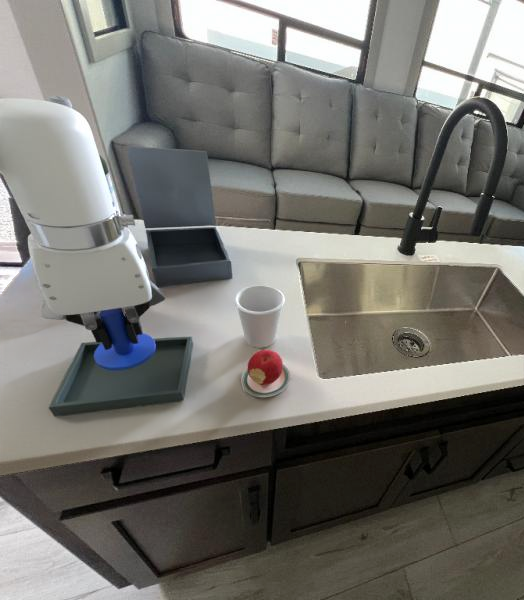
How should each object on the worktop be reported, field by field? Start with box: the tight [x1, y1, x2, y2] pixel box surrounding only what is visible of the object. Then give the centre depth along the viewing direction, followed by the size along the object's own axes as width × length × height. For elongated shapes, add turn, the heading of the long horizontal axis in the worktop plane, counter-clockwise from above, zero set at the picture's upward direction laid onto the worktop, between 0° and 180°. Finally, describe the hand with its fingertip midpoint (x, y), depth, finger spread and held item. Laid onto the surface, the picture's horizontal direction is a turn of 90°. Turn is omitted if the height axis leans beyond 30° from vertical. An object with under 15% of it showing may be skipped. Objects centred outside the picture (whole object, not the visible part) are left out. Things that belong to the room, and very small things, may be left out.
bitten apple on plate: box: [240, 349, 291, 398], centre depth 56 cm, size 8×8×6 cm
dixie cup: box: [234, 284, 286, 349], centre depth 62 cm, size 8×8×10 cm
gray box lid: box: [125, 145, 217, 229], centre depth 77 cm, size 17×15×5 cm
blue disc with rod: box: [94, 307, 156, 371], centre depth 47 cm, size 7×7×8 cm
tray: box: [48, 336, 194, 417], centre depth 52 cm, size 15×12×2 cm
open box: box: [145, 226, 233, 288], centre depth 77 cm, size 17×15×5 cm
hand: (121, 339), depth 48 cm, fingers closed on blue disc with rod, 2 cm apart
